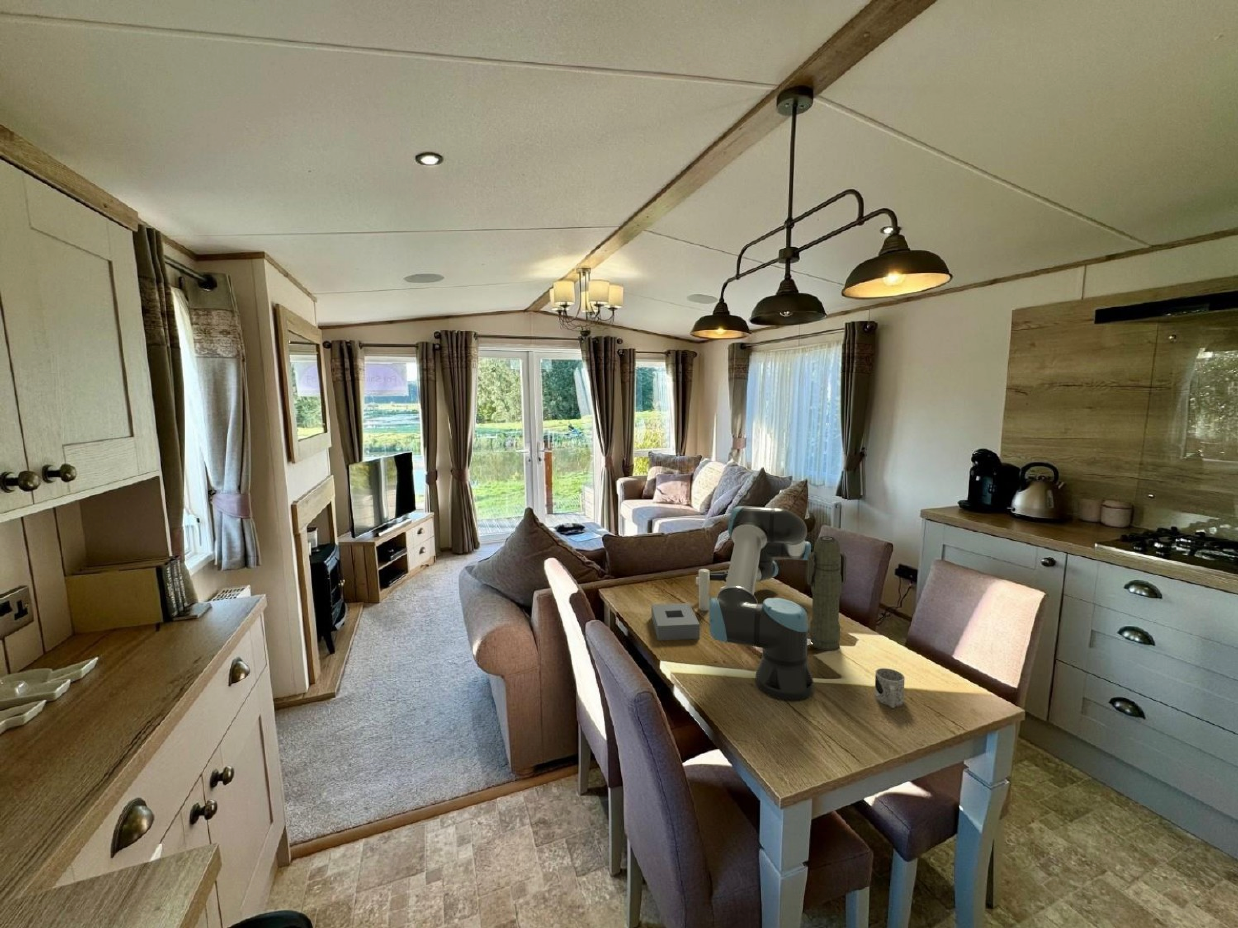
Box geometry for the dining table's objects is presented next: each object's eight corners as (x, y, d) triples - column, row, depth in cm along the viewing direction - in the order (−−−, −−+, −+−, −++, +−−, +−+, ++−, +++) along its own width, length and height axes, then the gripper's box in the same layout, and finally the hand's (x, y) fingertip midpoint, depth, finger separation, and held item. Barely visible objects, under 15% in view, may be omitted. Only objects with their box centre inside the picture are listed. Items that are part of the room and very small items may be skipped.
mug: (873, 689, 135) (874, 666, 134) (901, 694, 132) (902, 670, 132) (877, 710, 126) (878, 685, 125) (907, 716, 123) (908, 690, 122)
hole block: (699, 638, 167) (699, 624, 166) (658, 640, 166) (657, 625, 165) (689, 615, 184) (689, 602, 184) (651, 617, 184) (651, 604, 183)
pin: (710, 610, 189) (710, 572, 187) (700, 611, 189) (700, 572, 187) (708, 606, 193) (708, 568, 191) (698, 606, 193) (697, 569, 191)
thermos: (850, 648, 157) (853, 540, 153) (815, 652, 155) (818, 543, 151) (833, 636, 166) (836, 533, 162) (800, 639, 164) (802, 535, 160)
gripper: (771, 593, 193) (732, 605, 182) (724, 575, 214) (687, 586, 203) (771, 574, 192) (732, 586, 181) (725, 558, 213) (686, 568, 202)
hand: (708, 586), depth 192 cm, fingers open, 13 cm apart
